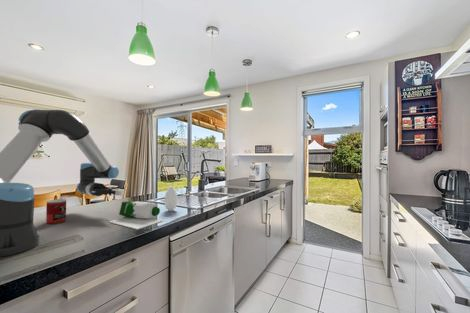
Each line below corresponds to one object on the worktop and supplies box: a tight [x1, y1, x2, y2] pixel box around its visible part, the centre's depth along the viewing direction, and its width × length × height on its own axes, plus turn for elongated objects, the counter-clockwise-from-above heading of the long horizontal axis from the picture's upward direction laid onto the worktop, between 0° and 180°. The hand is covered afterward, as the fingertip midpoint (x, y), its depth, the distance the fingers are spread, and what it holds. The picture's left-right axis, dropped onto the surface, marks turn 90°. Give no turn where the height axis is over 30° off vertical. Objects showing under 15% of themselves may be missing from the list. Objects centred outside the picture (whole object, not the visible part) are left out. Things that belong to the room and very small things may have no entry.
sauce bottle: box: [163, 182, 178, 212], centre depth 133 cm, size 8×8×18 cm
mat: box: [108, 216, 164, 231], centre depth 109 cm, size 22×15×1 cm
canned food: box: [45, 198, 67, 225], centre depth 107 cm, size 8×8×11 cm
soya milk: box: [118, 200, 161, 219], centre depth 115 cm, size 9×9×20 cm
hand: (120, 192), depth 115 cm, fingers closed
